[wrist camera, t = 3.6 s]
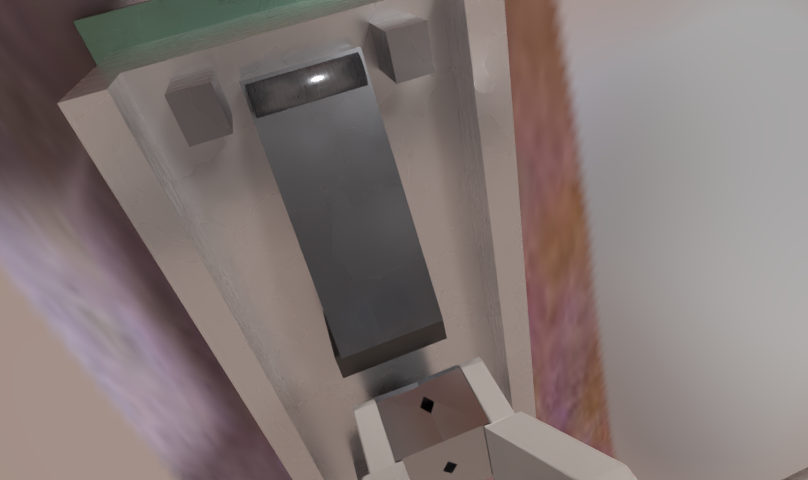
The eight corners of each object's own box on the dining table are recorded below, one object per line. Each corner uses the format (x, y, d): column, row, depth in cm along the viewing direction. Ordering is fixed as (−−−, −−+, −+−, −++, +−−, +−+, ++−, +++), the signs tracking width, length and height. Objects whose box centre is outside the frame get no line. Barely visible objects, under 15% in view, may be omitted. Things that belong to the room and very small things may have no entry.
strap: (242, 85, 12) (237, 80, 11) (356, 52, 13) (361, 45, 12) (339, 346, 14) (342, 362, 13) (435, 310, 14) (445, 322, 13)
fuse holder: (78, 18, 14) (-13, 65, 9) (427, -72, 16) (530, -79, 10) (303, 433, 26) (323, 560, 21) (490, 359, 28) (553, 460, 22)
